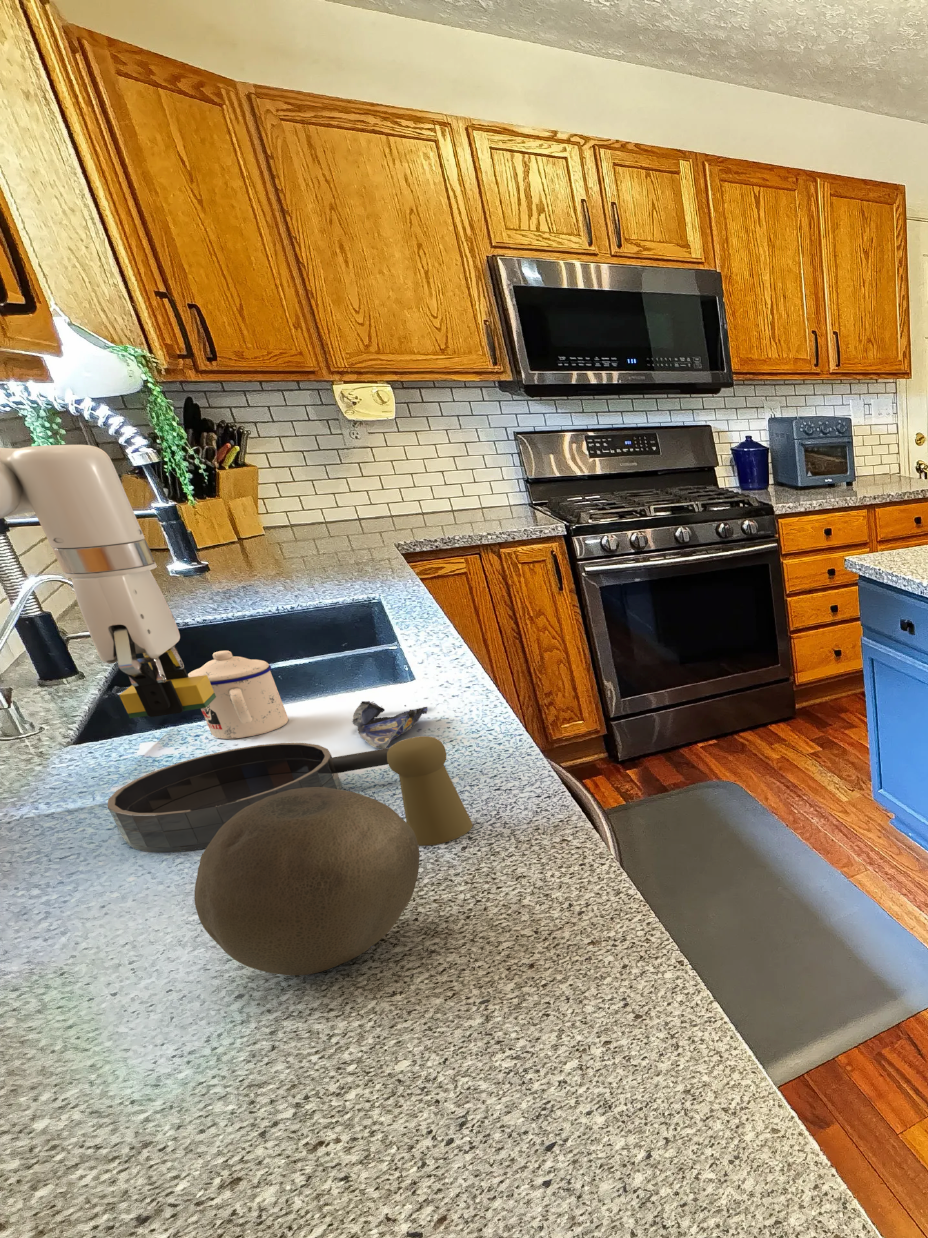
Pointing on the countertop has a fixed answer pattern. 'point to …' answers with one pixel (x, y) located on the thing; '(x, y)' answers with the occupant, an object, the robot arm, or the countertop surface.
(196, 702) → the sponge
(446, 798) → the cork
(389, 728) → the snack package
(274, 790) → the pan
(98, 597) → the robot arm
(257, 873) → the cantaloupe
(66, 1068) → the countertop surface
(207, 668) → the teacup with lid
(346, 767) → the pan handle
